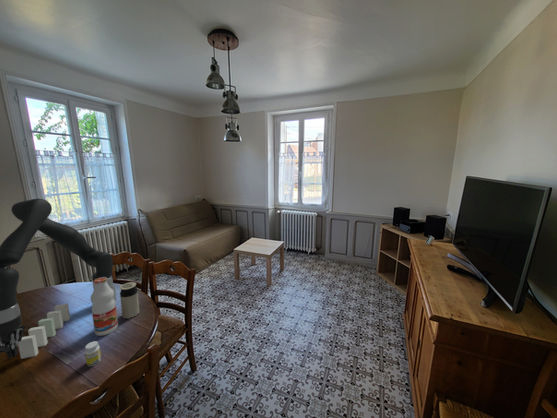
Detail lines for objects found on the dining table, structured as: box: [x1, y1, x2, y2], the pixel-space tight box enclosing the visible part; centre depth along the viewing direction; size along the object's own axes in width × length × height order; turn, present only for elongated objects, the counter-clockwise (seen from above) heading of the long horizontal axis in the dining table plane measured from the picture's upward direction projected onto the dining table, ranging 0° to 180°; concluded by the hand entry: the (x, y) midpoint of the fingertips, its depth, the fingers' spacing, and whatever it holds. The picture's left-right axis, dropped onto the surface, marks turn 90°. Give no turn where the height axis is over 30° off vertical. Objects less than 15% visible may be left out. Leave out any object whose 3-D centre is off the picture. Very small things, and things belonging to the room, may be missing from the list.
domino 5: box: [54, 303, 71, 322], centre depth 116 cm, size 2×5×9 cm, turn 108°
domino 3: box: [37, 317, 57, 338], centre depth 105 cm, size 2×5×9 cm, turn 108°
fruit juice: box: [90, 277, 119, 337], centre depth 108 cm, size 9×9×28 cm
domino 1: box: [17, 335, 39, 360], centre depth 93 cm, size 2×5×9 cm, turn 108°
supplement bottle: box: [84, 340, 102, 367], centre depth 91 cm, size 5×5×8 cm
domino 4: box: [46, 310, 64, 330], centre depth 110 cm, size 2×5×9 cm, turn 108°
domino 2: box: [27, 326, 49, 348], centre depth 99 cm, size 2×5×9 cm, turn 108°
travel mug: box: [119, 281, 140, 319], centre depth 121 cm, size 8×8×18 cm
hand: (13, 356), depth 86 cm, fingers closed
